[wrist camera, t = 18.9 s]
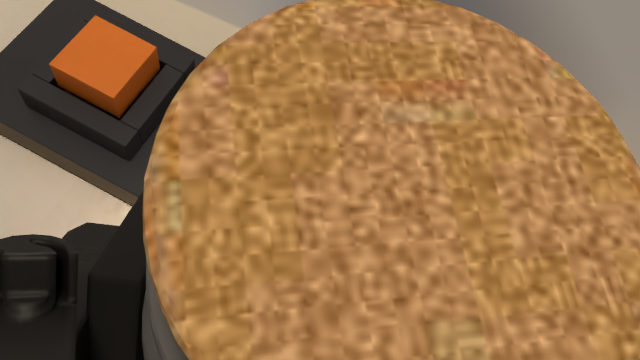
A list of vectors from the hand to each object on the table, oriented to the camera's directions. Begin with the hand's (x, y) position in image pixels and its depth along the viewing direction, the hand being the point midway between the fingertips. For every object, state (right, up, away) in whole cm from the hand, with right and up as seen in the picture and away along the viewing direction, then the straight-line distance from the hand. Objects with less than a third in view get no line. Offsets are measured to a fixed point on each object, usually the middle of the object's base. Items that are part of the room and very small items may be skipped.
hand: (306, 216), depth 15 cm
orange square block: (-12, +7, +18) cm, 22 cm away
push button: (-12, +5, +21) cm, 25 cm away
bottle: (-1, -6, +3) cm, 7 cm away
